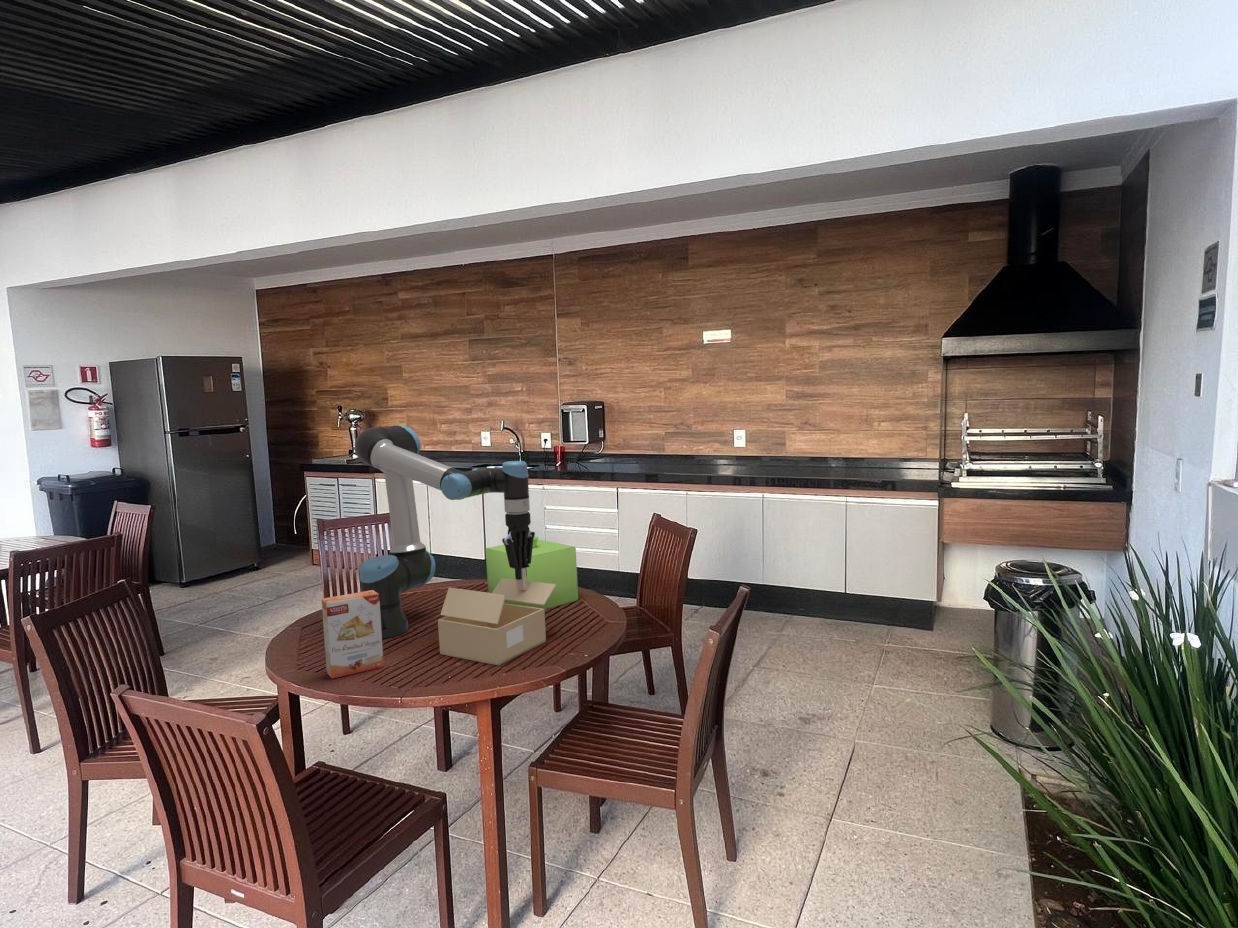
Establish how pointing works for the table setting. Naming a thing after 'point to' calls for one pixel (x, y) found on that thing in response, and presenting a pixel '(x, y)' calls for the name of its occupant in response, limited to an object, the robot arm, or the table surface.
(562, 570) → the canister
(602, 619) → the table surface
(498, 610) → the flap
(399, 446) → the robot arm
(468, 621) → the carton
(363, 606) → the cracker box
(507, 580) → the flap
